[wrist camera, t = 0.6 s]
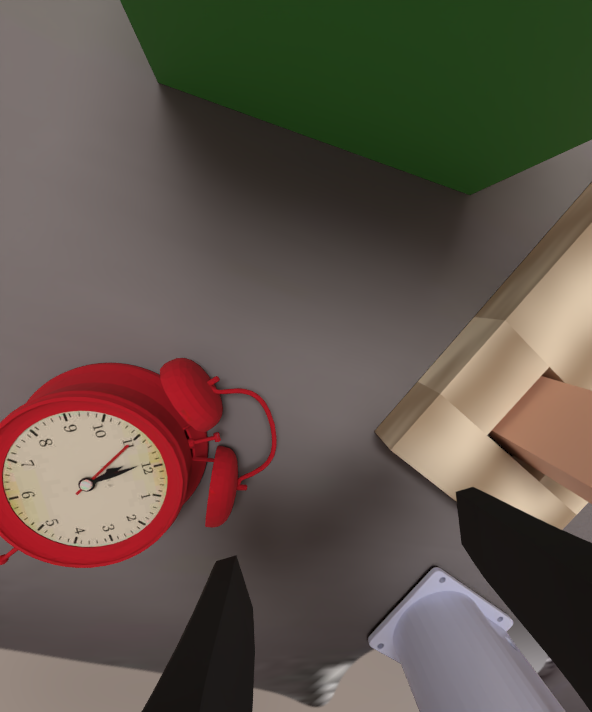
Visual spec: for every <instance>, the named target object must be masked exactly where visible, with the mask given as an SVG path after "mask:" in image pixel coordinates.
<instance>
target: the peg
mask: <svg viewBox="0 0 592 712" xmlns="http://www.w3.org/2000/svg"><path fill="white" fill-rule="evenodd" d="M489 435H490V436H491V437H492V438H493V439H494V440H495V441H497V442H498V443H499V444H500V445H501V446H502V447H503V448H504V449H506V450H507V451H508V452H509V453H511V454H512V455H514V456H516V457H517V458H519V459H520V460H522V461H524V462H525V463H527V464H528V465H530V466H532V467H533V468H535V469H536V470H538V471H540V472H541V473H543V474H544V475H546V476H548V477H549V478H551V479H552V480H554V481H556V482H557V483H559V484H560V485H562V486H564V487H565V488H567V489H568V490H570V491H572V492H573V493H575V494H576V495H578V496H580V497H581V498H583V499H584V500H586V501H588V502H589V503H591V504H592V391H591V390H588V389H584V388H581V387H577V386H574V385H571V384H567V383H564V382H560V381H557V380H553V379H550V378H546V377H543V376H541V377H540V378H539V379H538V380H537V381H536V382H535V383H534V384H533V385H532V387H531V388H530V389H529V390H528V391H527V392H526V393H525V394H524V395H523V396H522V398H521V399H520V400H519V401H518V402H517V403H516V404H515V405H514V406H513V407H512V409H511V410H510V411H509V412H508V413H507V414H506V415H505V416H504V417H503V418H502V419H501V421H500V422H499V423H498V424H497V425H496V426H495V427H494V428H493V429H492V430H491V432H490V433H489Z"/></svg>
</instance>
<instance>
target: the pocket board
mask: <svg viewBox="0 0 592 712" xmlns="http://www.w3.org/2000/svg"><path fill="white" fill-rule="evenodd" d="M541 376H543V377H546V378H550V379H553V380H557V381H560V382H564V383H567V384H571V385H574V386H577V387H581V388H584V389H588V390H591V391H592V183H591V184H590V185H589V186H588V187H587V188H586V189H585V191H584V192H583V193H582V194H581V195H580V196H579V197H578V199H577V200H576V201H575V202H574V203H573V204H572V205H571V207H570V208H569V209H568V210H567V211H566V212H565V213H564V215H563V216H562V217H561V218H560V219H559V220H558V221H557V223H556V224H555V225H554V226H553V227H552V228H551V230H550V231H549V232H548V233H547V234H546V235H545V236H544V238H543V239H542V240H541V241H540V242H539V243H538V244H537V246H536V247H535V248H534V249H533V250H532V251H531V252H530V254H529V255H528V256H527V257H526V258H525V259H524V260H523V262H522V263H521V264H520V265H519V266H518V267H517V268H516V270H515V271H514V272H513V273H512V274H511V275H510V276H509V278H508V279H507V280H506V281H505V282H504V283H503V284H502V286H501V287H500V288H499V289H498V290H497V291H496V293H495V294H494V295H493V296H492V297H491V298H490V299H489V301H488V302H487V303H486V304H485V305H484V306H483V307H482V309H481V310H480V311H479V312H478V313H477V314H476V315H475V317H474V318H473V319H472V320H471V321H470V322H469V323H468V325H467V326H466V327H465V328H464V329H463V330H462V331H461V333H460V334H459V335H458V336H457V337H456V338H455V339H454V341H453V342H452V343H451V344H450V345H449V346H448V347H447V349H446V350H445V351H444V352H443V353H442V354H441V356H440V357H439V358H438V359H437V360H436V361H435V362H434V364H433V365H432V366H431V367H430V368H429V369H428V370H427V372H426V373H425V374H424V375H423V376H422V377H421V378H420V380H419V381H418V382H417V383H416V384H415V385H414V386H413V388H412V389H411V390H410V391H409V392H408V393H407V394H406V396H405V397H404V398H403V399H402V400H401V401H400V402H399V404H398V405H397V406H396V407H395V408H394V409H393V410H392V412H391V413H390V414H389V415H388V416H387V417H386V419H385V420H384V421H383V422H382V423H381V424H380V425H379V427H378V428H377V429H376V430H375V433H376V434H377V435H378V436H379V437H380V438H381V440H382V441H383V442H384V443H385V444H386V445H387V447H388V448H389V449H390V450H391V451H392V452H394V453H395V454H396V455H398V456H399V457H400V458H401V459H403V460H404V461H405V462H406V463H408V464H409V465H410V466H412V467H413V468H414V469H415V470H417V471H418V472H419V473H421V474H422V475H423V476H424V477H426V478H427V479H428V480H430V481H431V482H432V483H433V484H435V485H436V486H437V487H438V488H440V489H441V490H442V491H444V492H445V493H446V494H447V495H449V496H450V497H451V498H453V499H454V500H455V501H456V502H457V500H456V492H457V491H460V490H464V489H467V488H470V487H475V488H477V489H479V490H481V491H483V492H485V493H487V494H489V495H491V496H493V497H495V498H497V499H499V500H501V501H503V502H505V503H507V504H509V505H511V506H513V507H515V508H517V509H519V510H521V511H523V512H525V513H527V514H530V515H532V516H534V517H536V518H538V519H540V520H542V521H544V522H546V523H548V524H550V525H552V526H555V527H557V528H559V529H561V530H562V529H563V528H564V527H565V526H566V525H567V524H568V523H569V522H570V521H571V520H572V519H573V518H574V517H575V516H576V515H577V514H578V513H579V512H580V511H581V510H582V508H583V507H584V506H585V505H586V504H587V503H588V501H586V500H584V499H583V498H581V497H580V496H578V495H576V494H575V493H573V492H572V491H570V490H568V489H567V488H565V487H564V486H562V485H560V484H559V483H557V482H556V481H554V480H552V479H551V478H549V477H548V476H546V475H544V474H543V473H541V472H540V471H538V470H536V469H535V468H533V467H532V466H530V465H528V464H527V463H525V462H524V461H522V460H520V459H519V458H517V457H516V456H514V455H513V456H512V457H511V456H510V455H509V454H507V453H506V452H505V451H504V450H503V449H502V448H501V447H500V446H498V445H497V444H496V443H495V442H494V441H493V440H492V439H491V438H489V437H488V436H487V435H488V434H489V433H490V432H491V430H492V429H493V428H494V427H495V426H496V425H497V424H498V423H499V422H500V421H501V419H502V418H503V417H504V416H505V415H506V414H507V413H508V412H509V411H510V410H511V409H512V407H513V406H514V405H515V404H516V403H517V402H518V401H519V400H520V399H521V398H522V396H523V395H524V394H525V393H526V392H527V391H528V390H529V389H530V388H531V387H532V385H533V384H534V383H535V382H536V381H537V380H538V379H539V378H540V377H541Z"/></svg>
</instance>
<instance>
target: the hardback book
mask: <svg viewBox="0 0 592 712" xmlns="http://www.w3.org/2000/svg"><path fill="white" fill-rule="evenodd" d="M120 1H121V3H122V5H123V8H124V10H125V12H126V14H127V16H128V18H129V21H130V23H131V25H132V27H133V29H134V31H135V34H136V36H137V38H138V40H139V42H140V44H141V47H142V49H143V51H144V53H145V55H146V57H147V60H148V62H149V64H150V66H151V68H152V70H153V73H154V75H155V77H156V79H157V81H158V83H161V84H164V85H167V86H169V87H172V88H175V89H178V90H180V91H183V92H186V93H189V94H192V95H194V96H197V97H200V98H203V99H205V100H208V101H211V102H214V103H216V104H219V105H222V106H225V107H228V108H230V109H233V110H236V111H239V112H241V113H244V114H247V115H250V116H252V117H255V118H258V119H261V120H264V121H266V122H269V123H272V124H275V125H277V126H280V127H283V128H286V129H288V130H291V131H294V132H297V133H299V134H302V135H305V136H308V137H311V138H313V139H316V140H319V141H322V142H324V143H327V144H330V145H333V146H335V147H338V148H341V149H344V150H347V151H349V152H352V153H355V154H358V155H360V156H363V157H366V158H369V159H371V160H374V161H377V162H380V163H382V164H385V165H388V166H391V167H394V168H396V169H399V170H402V171H405V172H407V173H410V174H413V175H416V176H418V177H421V178H424V179H427V180H430V181H432V182H435V183H438V184H441V185H443V186H446V187H449V188H452V189H454V190H457V191H460V192H463V193H465V194H468V195H471V194H473V193H476V192H478V191H480V190H482V189H484V188H487V187H489V186H491V185H493V184H495V183H497V182H500V181H502V180H504V179H506V178H508V177H511V176H513V175H515V174H517V173H519V172H522V171H524V170H526V169H528V168H530V167H532V166H535V165H537V164H539V163H541V162H543V161H546V160H548V159H550V158H552V157H554V156H557V155H559V154H561V153H563V152H565V151H567V150H570V149H572V148H574V147H576V146H578V145H581V144H583V143H585V142H587V141H589V140H592V0H120Z"/></svg>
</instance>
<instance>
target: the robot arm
mask: <svg viewBox="0 0 592 712" xmlns="http://www.w3.org/2000/svg"><path fill="white" fill-rule="evenodd" d="M456 500H457V508H458V517H459V525H460V534H461V542H462V545H463V547H464V548H465V550H466V551H467V553H468V554H469V556H470V557H471V559H472V561H473V562H474V564H475V565H476V566H477V568H478V569H479V571H480V572H481V574H482V575H483V577H484V578H485V579H486V581H487V582H488V583H489V584H490V586H491V587H492V588H493V589H494V590H495V592H496V593H497V594H498V595H499V597H500V598H501V599H502V600H503V601H504V603H505V604H506V605H507V606H508V608H509V609H510V610H511V611H512V612H513V614H514V615H515V616H516V617H517V618H518V620H519V621H520V622H521V623H522V624H523V626H524V627H525V628H526V629H527V630H528V632H529V633H530V634H531V635H532V637H533V638H534V639H535V640H536V641H537V642H538V644H539V645H540V646H541V647H542V649H543V650H544V651H545V652H546V653H547V655H548V656H549V657H550V658H551V659H552V661H553V662H554V663H555V664H556V666H557V667H558V668H559V670H560V671H561V672H562V673H563V675H564V676H565V677H566V678H567V680H568V681H569V682H570V684H571V685H572V686H573V688H574V689H575V690H576V692H577V693H578V694H579V696H580V697H581V699H582V700H583V701H584V703H585V704H586V706H587V707H588V708H589V710H590V711H591V712H592V543H590V542H588V541H586V540H583V539H581V538H579V537H576V536H574V535H572V534H570V533H568V532H565V531H563V530H561V529H559V528H557V527H555V526H552V525H550V524H548V523H546V522H544V521H542V520H540V519H538V518H536V517H534V516H532V515H530V514H527V513H525V512H523V511H521V510H519V509H517V508H515V507H513V506H511V505H509V504H507V503H505V502H503V501H501V500H499V499H497V498H495V497H493V496H491V495H489V494H487V493H485V492H483V491H481V490H479V489H477V488H475V487H470V488H467V489H464V490H460V491H457V492H456ZM512 625H513V621H512V619H511V618H510V617H509V615H507V614H506V613H504V612H503V611H501V610H500V609H498V608H497V607H496V606H494V605H493V604H491V603H490V602H488V601H487V600H485V599H484V598H483V597H481V596H480V595H478V594H477V593H475V592H474V591H472V590H471V589H470V588H468V587H467V586H465V585H464V584H462V583H461V582H459V581H458V580H457V579H455V578H454V577H452V576H451V575H449V574H448V573H446V572H445V571H444V570H442V569H441V568H439V567H435V568H432V569H431V570H430V571H429V572H428V573H427V574H426V576H425V577H424V578H423V579H422V580H421V581H420V582H419V583H418V584H417V585H416V586H415V587H414V588H413V590H412V591H411V592H410V593H409V594H408V595H407V596H406V597H405V598H404V599H403V600H402V601H401V602H400V603H399V605H398V606H397V607H396V608H395V609H394V610H393V611H392V612H391V613H390V614H389V615H388V616H387V617H386V618H385V620H384V621H383V622H382V623H381V624H380V625H379V626H378V627H377V628H376V629H375V630H374V631H373V632H372V634H371V635H370V636H369V637H368V641H369V644H370V646H371V647H372V648H374V649H375V650H377V651H379V652H381V653H382V654H385V655H386V656H388V657H390V658H392V659H393V660H395V661H397V662H399V663H400V664H401V665H402V668H403V670H404V673H405V675H406V678H407V680H408V683H409V686H410V688H411V691H412V693H413V696H414V698H415V701H416V703H417V706H418V708H419V711H420V712H565V710H564V709H563V708H562V706H561V705H560V704H559V702H558V701H557V699H556V698H555V697H554V695H553V694H552V693H551V691H550V690H549V689H548V687H547V686H546V685H545V683H544V682H543V681H542V679H541V678H540V677H539V675H538V674H537V673H536V671H535V670H534V668H533V667H532V666H531V664H530V663H529V662H528V660H527V659H526V658H525V656H524V655H523V654H522V652H521V651H520V650H519V648H518V647H517V646H516V644H515V643H514V641H513V640H512V639H511V638H510V636H509V635H508V633H507V631H508V630H509V628H510V627H511V626H512ZM254 658H255V644H254V621H253V607H252V604H251V600H250V597H249V594H248V591H247V588H246V585H245V581H244V578H243V575H242V572H241V569H240V565H239V562H238V559H237V556H233V557H229V558H226V559H223V560H219V561H217V562H216V563H215V565H214V567H213V569H212V571H211V574H210V576H209V578H208V581H207V583H206V585H205V587H204V590H203V592H202V594H201V596H200V599H199V601H198V603H197V605H196V607H195V610H194V612H193V614H192V616H191V618H190V620H189V622H188V624H187V626H186V628H185V631H184V633H183V635H182V637H181V639H180V641H179V643H178V645H177V647H176V649H175V651H174V653H173V655H172V657H171V659H170V660H169V662H168V664H167V666H166V668H165V670H164V672H163V674H162V676H161V678H160V680H159V681H158V683H157V685H156V687H155V689H154V691H153V693H152V694H151V696H150V698H149V700H148V702H147V703H146V705H145V707H144V709H143V710H142V712H252V706H253V705H252V704H253V683H254Z"/></svg>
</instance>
